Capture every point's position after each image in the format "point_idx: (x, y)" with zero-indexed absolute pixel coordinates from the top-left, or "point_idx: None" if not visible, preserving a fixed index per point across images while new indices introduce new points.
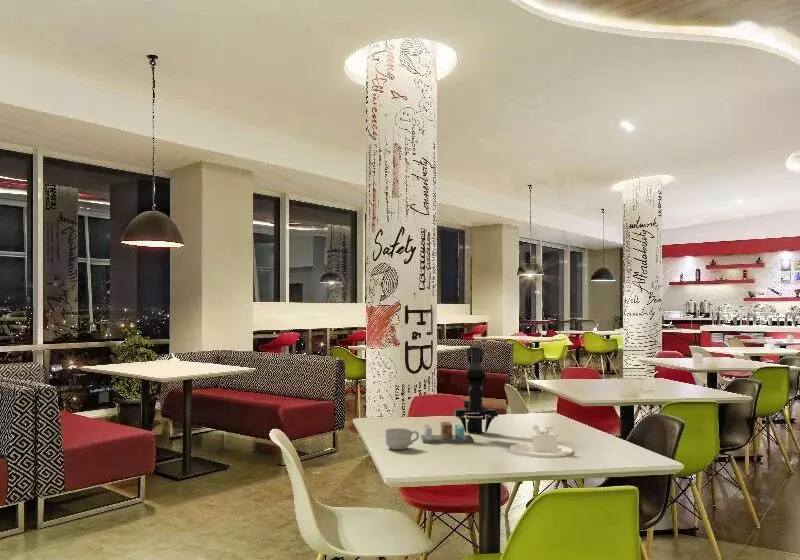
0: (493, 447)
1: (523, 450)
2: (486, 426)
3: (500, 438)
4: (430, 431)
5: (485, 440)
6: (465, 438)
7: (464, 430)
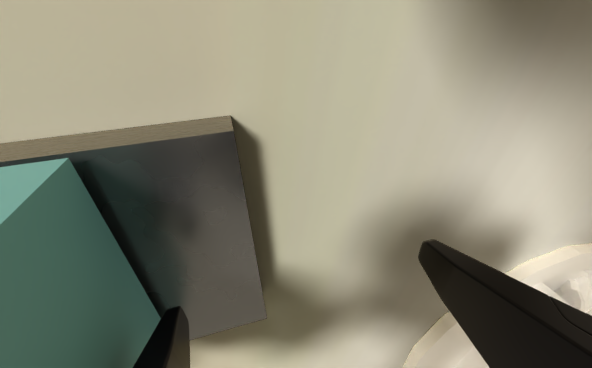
0: (356, 345)
1: (444, 356)
2: (471, 341)
3: (536, 85)
4: None
5: (374, 195)
6: (190, 316)
7: (155, 334)
